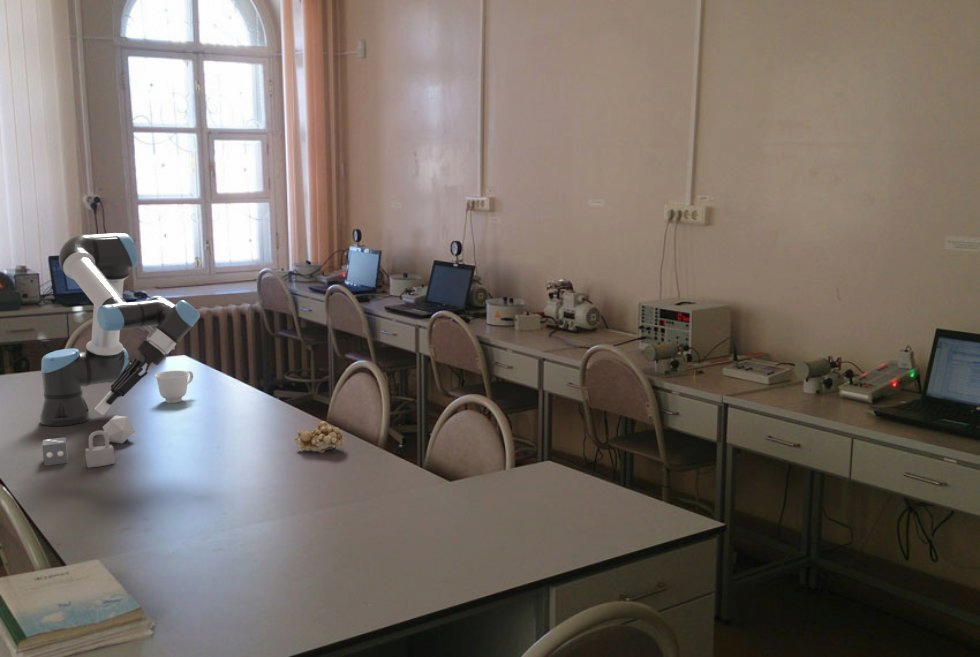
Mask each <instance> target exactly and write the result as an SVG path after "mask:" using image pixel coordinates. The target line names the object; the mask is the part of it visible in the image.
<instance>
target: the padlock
mask: <svg viewBox="0 0 980 657" xmlns="http://www.w3.org/2000/svg"><path fill="white" fill-rule="evenodd" d="M97 435H101V436H103V437H104V438H103V439H104V445H100V446H99V445H98V446H94V441H93V440H94V437H95V436H97ZM84 452H85V461H86V462H85V465H86V467H87V468H89V469H91V468H98V467H106V466H109V465H114V464H115V463H116V461H115V449H114V446H113V445H112V444H110V441H109V436H108V434H107V433H106V432H105V431H104V430H95V431H93V432H91V433H90V434H89V435H88V448H87V447H86V448H85V450H84Z"/></svg>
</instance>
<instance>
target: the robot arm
mask: <svg viewBox="0 0 980 657" xmlns="http://www.w3.org/2000/svg"><path fill="white" fill-rule="evenodd" d="M58 263H59V266H60V270H62V272H63V273H64V275H65V276H66V277H67V278H69V279H71V280H74V281H75V283H77V285H78V286H79V288H80V289H81V290H82V291H83V293H84V294H85V295H86V297H87V298H88V299H89V300H90V301H91V303H92V304H93V312H92V327H91V328H92V329H91V340H89V341H88V342H87V343H86V345H85V351H80V350H79V349H78V348H75V347H74V348H63V349H58V350H54V351H52V352H49V353H47V354H45V355H44V356H43V357H42V358H41V367H40V368H41V369H40V371H41V377H42V386H43V389H42V390H43V398H44V400H43V404H42V408H41V413H40V416H39V420H40V424H41V425H43V426H48V427H62V426H69V425H76V424H77V425H78V424H81V423H84V422H86V421H88V420H90V419H91V411H90V409H89V406H88V404H87V403H86V400H85V398H84V396H83V395H84V394H83V387H88V386H94V385H100V384H101V385H102V384H108V383H109V384H110V383H112V384H111V385H110V390H109V391H108V392H107V394H105V396H104V397H103V398H102V399H101V400H100V401H99V403H98V404H97V405H96V406H95V407H94V410H95V411H97V412H98V413H99V414H100V415H102V416H104V415H105V414H106V413H107V411H108V410H109V409H110V408H111V407H112V405H114V404H115V402H116V401H117V400H118V399H119V398H121V397H125V395H126V394H127V393H128V392H129V391H130V390H132V389H133V387H135V385H137V383H138V382H140V381H141V380H142V379H143V378H144V377H145V376H146V375H148V370H149V368H150V366H151V365H152V364H154V365H155V366H159V365H160V364H161V362H163V360H164V359H165V358H166V355H168V354H169V353H170V352H171V351H172V350H175V349H176V347H175V346H176V345H177V344H178V343H180V342H181V340H182V339H183V338H184V336H186V335H187V334H188V332H189V331H190V330H191V329H192V328H193V327H194V326H195V324H196V323H197V322H198V320H199V319H200V317H201V313H200V312H199V311H198V309H196V308H195V307H194V306H192V305H191V304H190V303H189V302H188V301H186V300H179V301H178V302H177V303H174V302H173V301H171V299H168V298H167V297H163V296H160V295H153V296H151V297H149V298H147V300H141V301H132V302H131V301H130V302H127V301H126V299H124V296H123V295H124V285H125V284H124V283H125V280H126V279H127V278H130V270H131V269H135V268H136V267H137V266H138V263H139V255H138V250H137V246H136V244H135V241H134V240H133V238H132V236H130V235H129V234H127V233H126V232H125V233H121V232H120V233H119V232H113V233H97V234H96V233H95V234H93V233H92V234H79V235H75V236H73V237H71V238H70V239H68V240H67V241H66V242H64V244H63V246H62V247H61V249H60V251H59V254H58ZM154 326H155V327H154ZM145 327H154V328H153V329H152V331H150V333H149V334H148V335H147V336H146V340H143V341H142V342H141V343H140V345H139V346H138V347H137V349H136V352H138V353H140V354H139V355H138V356H137V357H135V358H133V359H130V360H129V353H128V351H127V349H126V348H125V347H124V346H123V343H121V342H120V332H121V331H122V330H131V329H135V328H136V329H137V328H145ZM165 354H166V355H165Z"/></svg>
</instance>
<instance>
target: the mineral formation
mask: <svg viewBox="0 0 980 657" xmlns="http://www.w3.org/2000/svg"><path fill="white" fill-rule="evenodd" d="M296 433H297V435H296V437H295V438H294V441H295V442H294V443H295V444H296V445H299V449H298V451H300V452H303V451H304V452H310V451H312V452H317V453H319V454H324V453H325V451H328V450H330V449H335V448H336V447H343V446H344V445H345V440H344V439H343V438H344V436H343V431H342V430H341V429H339V427H333V428H332V426H331V425H329V424H328V422H326V421H324V420H322V421H320V422H319V423H318V426H317V427H315V428H314V429H313V430H311V432H310V431H307V430H297V431H296Z"/></svg>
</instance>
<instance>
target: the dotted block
mask: <svg viewBox="0 0 980 657" xmlns="http://www.w3.org/2000/svg"><path fill="white" fill-rule="evenodd" d="M41 446H42V455H43V466H44V467H45V465H46V466H54V465H61V464H67V463H68V448H67V438H66V437H57V438H49V439H46V438H45V439H43V440H42V445H41Z"/></svg>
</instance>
